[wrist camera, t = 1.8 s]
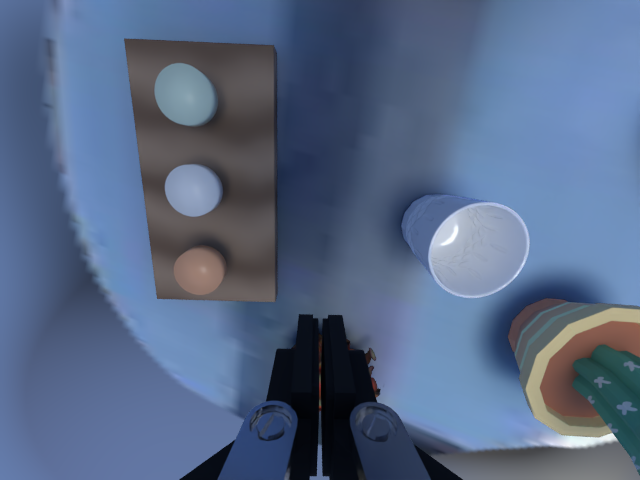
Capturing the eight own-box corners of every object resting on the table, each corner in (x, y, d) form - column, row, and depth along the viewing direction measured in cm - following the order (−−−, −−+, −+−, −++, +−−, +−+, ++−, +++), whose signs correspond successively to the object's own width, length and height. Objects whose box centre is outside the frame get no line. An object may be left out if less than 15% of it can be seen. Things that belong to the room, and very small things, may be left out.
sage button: (170, 72, 25) (151, 61, 22) (221, 74, 25) (209, 64, 22) (175, 127, 26) (157, 123, 24) (224, 129, 27) (213, 125, 24)
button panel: (137, 46, 28) (124, 38, 26) (276, 53, 28) (273, 45, 26) (166, 290, 34) (157, 298, 32) (277, 293, 35) (275, 302, 33)
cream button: (178, 162, 27) (162, 163, 24) (226, 164, 27) (215, 165, 25) (182, 209, 29) (167, 215, 26) (228, 211, 29) (218, 217, 26)
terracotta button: (185, 240, 29) (171, 249, 26) (229, 241, 29) (220, 251, 27) (189, 281, 31) (176, 294, 28) (231, 282, 31) (223, 295, 28)
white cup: (383, 242, 33) (411, 278, 24) (415, 176, 31) (460, 185, 22) (445, 267, 34) (495, 311, 24) (480, 204, 32) (550, 225, 22)
